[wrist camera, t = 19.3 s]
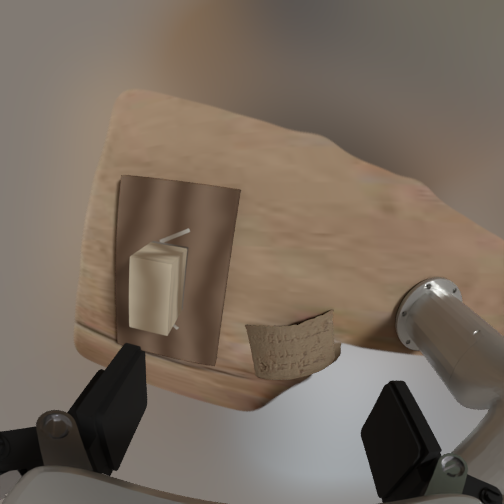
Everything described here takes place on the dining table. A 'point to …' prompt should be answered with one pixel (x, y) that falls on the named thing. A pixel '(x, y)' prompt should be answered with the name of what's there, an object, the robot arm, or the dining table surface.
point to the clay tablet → (293, 348)
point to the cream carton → (157, 286)
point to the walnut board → (198, 262)
